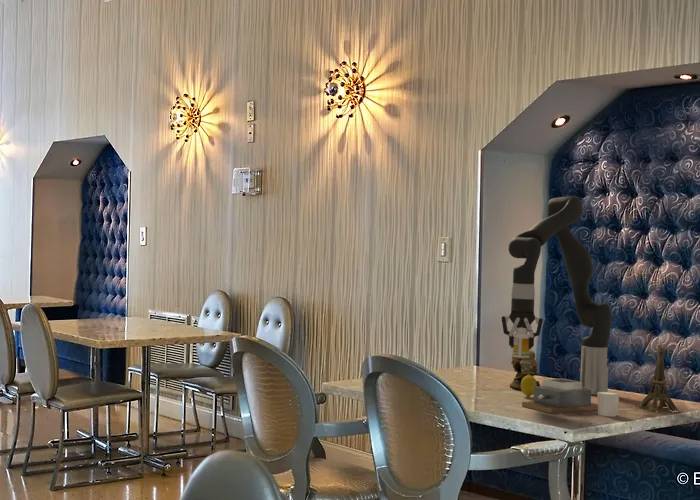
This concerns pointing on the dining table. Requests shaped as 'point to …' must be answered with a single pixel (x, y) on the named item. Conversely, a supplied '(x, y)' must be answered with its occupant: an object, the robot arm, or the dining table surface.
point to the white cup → (607, 403)
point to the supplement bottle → (521, 343)
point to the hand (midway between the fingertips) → (521, 347)
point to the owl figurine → (523, 369)
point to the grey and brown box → (561, 397)
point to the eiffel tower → (658, 387)
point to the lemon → (528, 385)
